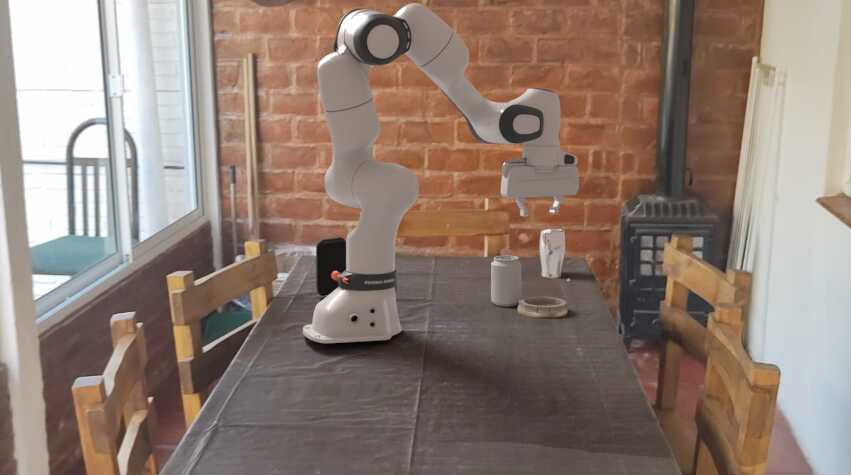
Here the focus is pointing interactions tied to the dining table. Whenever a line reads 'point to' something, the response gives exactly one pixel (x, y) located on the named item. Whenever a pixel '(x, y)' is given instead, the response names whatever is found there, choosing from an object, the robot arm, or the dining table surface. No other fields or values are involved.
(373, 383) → the dining table surface
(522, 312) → the beige round shallow dish
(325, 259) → the carrying case or bag
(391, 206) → the robot arm
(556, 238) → the beer glass
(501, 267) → the can
